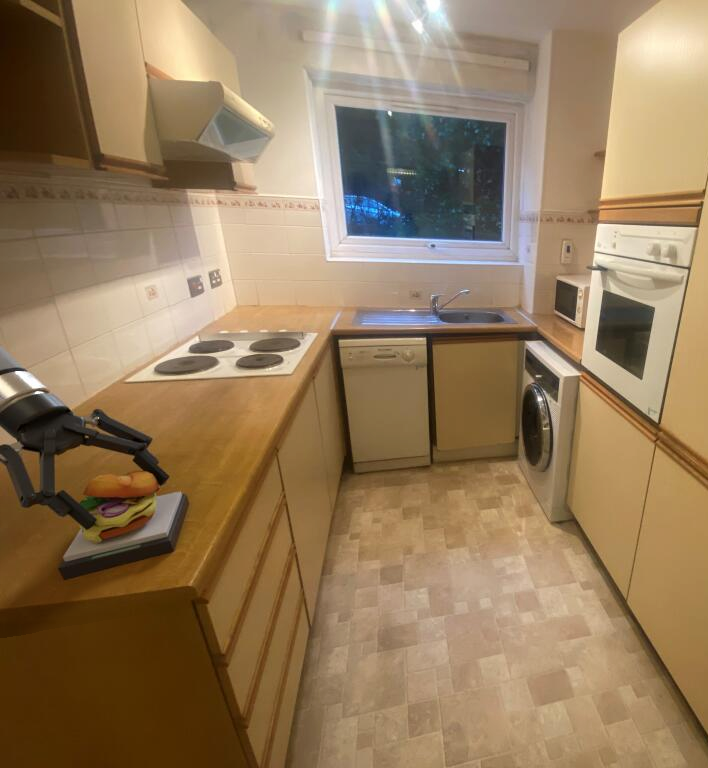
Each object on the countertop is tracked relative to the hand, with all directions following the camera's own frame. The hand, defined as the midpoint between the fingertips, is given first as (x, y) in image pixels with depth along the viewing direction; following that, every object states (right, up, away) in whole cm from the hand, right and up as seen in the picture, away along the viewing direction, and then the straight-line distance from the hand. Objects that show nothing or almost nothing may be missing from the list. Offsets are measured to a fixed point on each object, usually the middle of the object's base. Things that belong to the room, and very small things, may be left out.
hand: (131, 501), depth 72 cm
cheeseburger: (-3, -4, +2) cm, 5 cm away
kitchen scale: (-3, -7, +4) cm, 9 cm away
